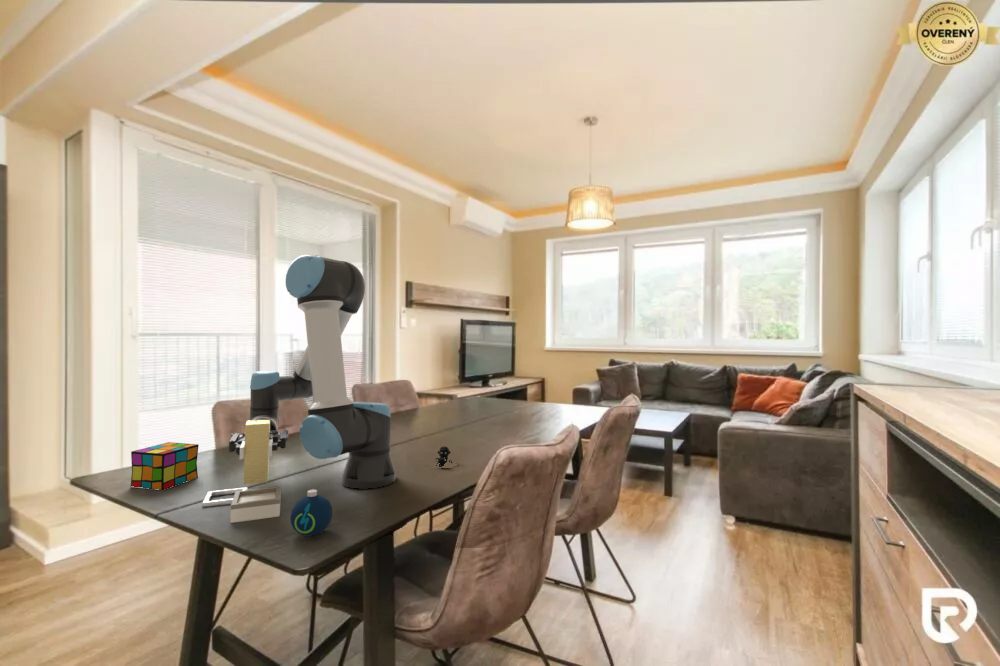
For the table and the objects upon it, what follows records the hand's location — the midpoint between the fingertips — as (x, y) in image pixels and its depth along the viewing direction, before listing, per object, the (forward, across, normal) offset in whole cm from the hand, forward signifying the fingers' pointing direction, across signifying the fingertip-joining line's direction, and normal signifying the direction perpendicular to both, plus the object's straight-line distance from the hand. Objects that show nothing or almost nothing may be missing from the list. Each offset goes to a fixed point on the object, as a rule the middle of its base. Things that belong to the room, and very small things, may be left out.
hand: (255, 452), depth 105 cm
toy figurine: (-27, -54, -16) cm, 62 cm away
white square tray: (-5, 0, -16) cm, 16 cm away
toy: (-38, +25, -17) cm, 48 cm away
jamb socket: (-18, +8, -16) cm, 25 cm away
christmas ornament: (+13, -12, -15) cm, 23 cm away
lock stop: (-5, 0, -8) cm, 10 cm away
